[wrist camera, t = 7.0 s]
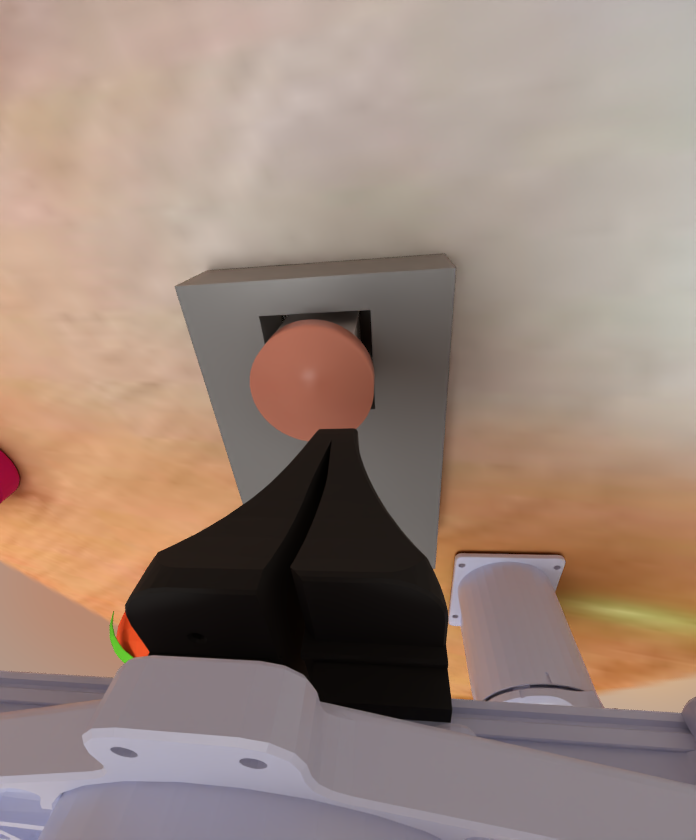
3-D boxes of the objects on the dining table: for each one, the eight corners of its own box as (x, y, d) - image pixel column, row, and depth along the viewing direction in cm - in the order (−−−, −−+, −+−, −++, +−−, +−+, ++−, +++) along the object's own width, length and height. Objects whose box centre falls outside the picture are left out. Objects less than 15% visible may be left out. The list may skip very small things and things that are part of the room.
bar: (430, 527, 28) (435, 568, 25) (274, 526, 29) (261, 564, 26) (444, 253, 18) (456, 267, 15) (207, 270, 19) (174, 286, 16)
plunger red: (378, 388, 21) (376, 441, 17) (287, 391, 22) (263, 442, 17) (374, 293, 18) (370, 327, 14) (270, 299, 19) (236, 333, 14)
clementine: (120, 575, 35) (66, 657, 29) (167, 550, 32) (117, 634, 26) (185, 618, 38) (148, 699, 32) (232, 599, 35) (202, 683, 29)
